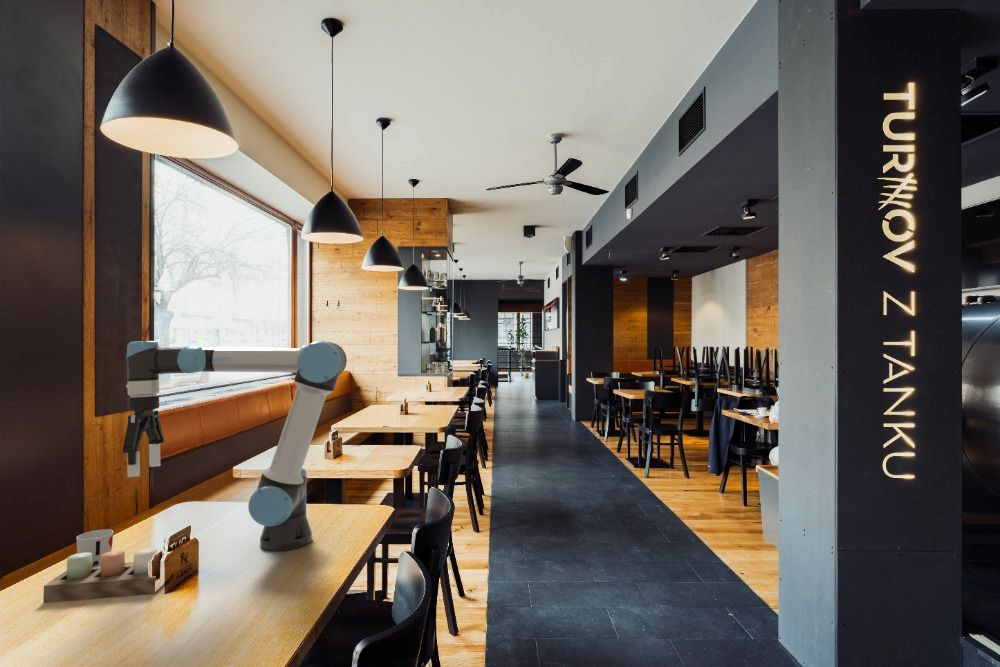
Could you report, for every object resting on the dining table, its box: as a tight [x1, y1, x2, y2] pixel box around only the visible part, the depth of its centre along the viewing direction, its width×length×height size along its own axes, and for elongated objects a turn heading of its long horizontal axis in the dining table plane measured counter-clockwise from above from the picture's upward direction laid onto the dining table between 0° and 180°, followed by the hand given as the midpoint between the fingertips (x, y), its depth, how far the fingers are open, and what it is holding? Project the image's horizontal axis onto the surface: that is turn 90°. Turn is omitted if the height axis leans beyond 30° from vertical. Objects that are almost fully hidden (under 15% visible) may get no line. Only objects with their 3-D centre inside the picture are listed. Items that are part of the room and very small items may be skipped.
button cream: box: [133, 547, 158, 575], centre depth 140 cm, size 5×5×5 cm
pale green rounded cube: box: [66, 552, 92, 580], centre depth 137 cm, size 5×5×5 cm
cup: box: [76, 529, 114, 565], centre depth 149 cm, size 8×8×10 cm
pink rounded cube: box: [100, 549, 126, 577], centre depth 139 cm, size 5×5×5 cm
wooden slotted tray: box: [42, 561, 156, 604], centre depth 138 cm, size 24×12×4 cm, turn 101°
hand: (144, 471), depth 154 cm, fingers open, 13 cm apart
